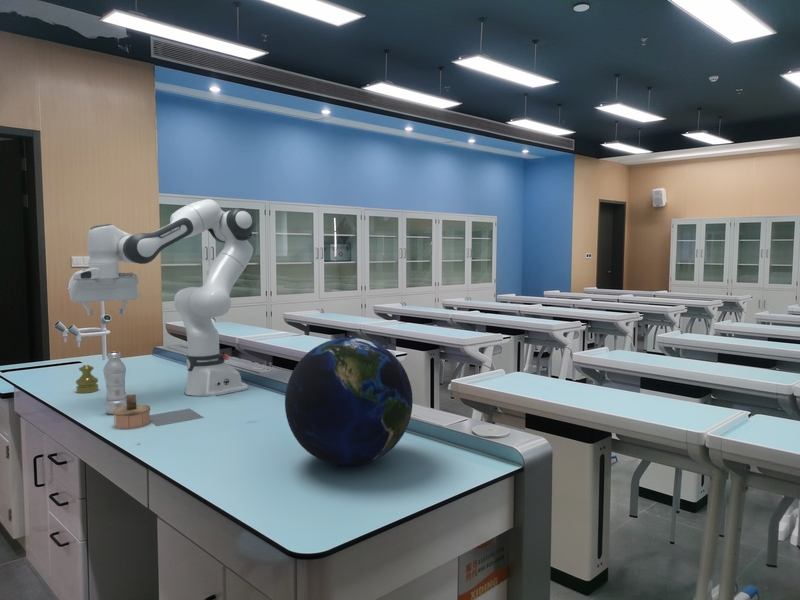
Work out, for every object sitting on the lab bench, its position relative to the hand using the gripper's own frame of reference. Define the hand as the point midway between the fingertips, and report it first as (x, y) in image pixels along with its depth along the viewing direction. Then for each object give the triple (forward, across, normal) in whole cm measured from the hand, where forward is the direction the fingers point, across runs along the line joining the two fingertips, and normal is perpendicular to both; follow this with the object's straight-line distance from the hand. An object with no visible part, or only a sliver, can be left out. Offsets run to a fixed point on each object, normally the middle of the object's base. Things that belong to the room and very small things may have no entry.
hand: (106, 314), depth 191 cm
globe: (+31, -34, +97) cm, 107 cm away
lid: (+27, 0, +30) cm, 40 cm away
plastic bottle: (+31, 0, +13) cm, 34 cm away
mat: (+31, -12, +30) cm, 45 cm away
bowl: (+31, 0, +30) cm, 43 cm away
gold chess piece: (+31, +2, -31) cm, 44 cm away
